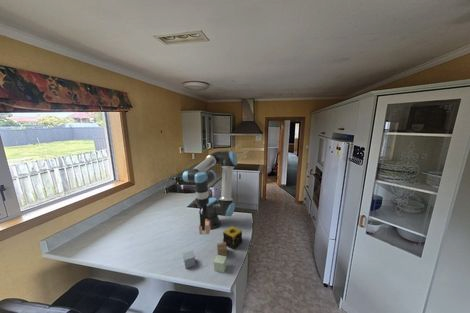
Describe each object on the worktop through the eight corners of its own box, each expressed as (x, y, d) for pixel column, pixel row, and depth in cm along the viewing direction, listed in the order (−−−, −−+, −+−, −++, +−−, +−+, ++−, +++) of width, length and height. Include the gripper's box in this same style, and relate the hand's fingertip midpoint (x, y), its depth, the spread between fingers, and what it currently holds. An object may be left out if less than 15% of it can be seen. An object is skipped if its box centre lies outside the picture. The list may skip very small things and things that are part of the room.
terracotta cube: (201, 229, 118) (200, 220, 117) (210, 228, 118) (209, 220, 117) (199, 234, 112) (198, 225, 111) (209, 234, 112) (208, 225, 111)
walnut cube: (217, 251, 122) (216, 243, 121) (226, 250, 123) (225, 242, 122) (218, 257, 116) (217, 249, 115) (227, 256, 117) (226, 248, 116)
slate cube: (184, 262, 114) (183, 253, 112) (193, 259, 116) (192, 250, 115) (185, 268, 108) (184, 260, 107) (195, 265, 111) (194, 256, 110)
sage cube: (217, 263, 112) (217, 254, 111) (227, 264, 110) (226, 256, 109) (214, 270, 106) (213, 261, 105) (223, 272, 104) (223, 263, 103)
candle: (223, 244, 129) (222, 231, 127) (232, 237, 137) (231, 225, 135) (233, 250, 123) (232, 237, 121) (242, 242, 130) (242, 230, 128)
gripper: (199, 191, 120) (202, 223, 124) (192, 204, 101) (196, 240, 105) (210, 191, 120) (212, 222, 124) (206, 203, 101) (208, 240, 105)
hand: (205, 231), depth 115 cm, fingers closed on terracotta cube, 6 cm apart
